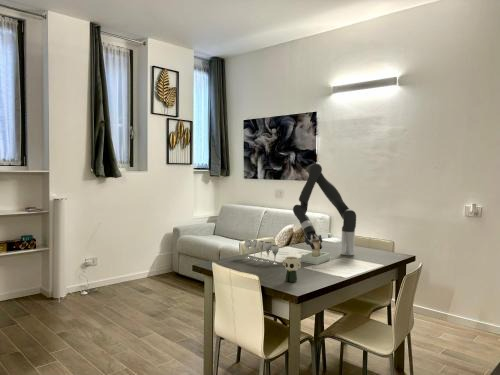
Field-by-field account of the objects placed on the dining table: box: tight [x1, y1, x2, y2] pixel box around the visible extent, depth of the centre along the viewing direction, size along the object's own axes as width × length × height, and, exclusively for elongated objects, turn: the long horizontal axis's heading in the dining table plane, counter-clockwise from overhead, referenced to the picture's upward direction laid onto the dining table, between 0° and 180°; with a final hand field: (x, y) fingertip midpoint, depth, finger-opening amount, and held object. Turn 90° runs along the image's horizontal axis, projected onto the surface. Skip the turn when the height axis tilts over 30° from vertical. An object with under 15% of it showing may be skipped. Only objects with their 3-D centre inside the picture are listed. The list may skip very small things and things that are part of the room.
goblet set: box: [244, 239, 280, 265], centre depth 266 cm, size 28×6×13 cm, turn 50°
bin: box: [300, 251, 331, 266], centre depth 269 cm, size 18×12×4 cm, turn 143°
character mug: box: [282, 256, 302, 283], centre depth 218 cm, size 11×7×13 cm, turn 57°
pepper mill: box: [311, 239, 321, 257], centre depth 269 cm, size 5×5×12 cm
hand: (317, 248), depth 267 cm, fingers closed on pepper mill, 5 cm apart
